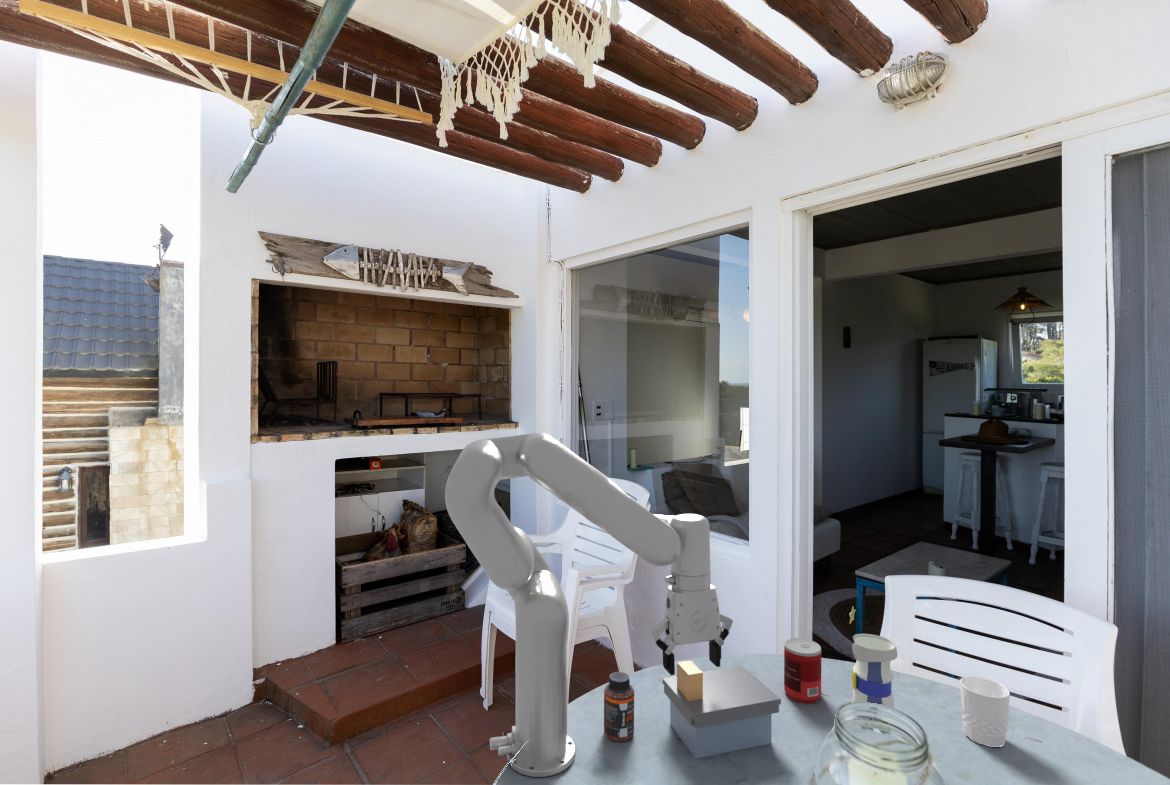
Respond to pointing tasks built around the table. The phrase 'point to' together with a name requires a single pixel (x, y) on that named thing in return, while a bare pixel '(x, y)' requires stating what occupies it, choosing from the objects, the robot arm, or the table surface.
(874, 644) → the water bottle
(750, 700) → the lid
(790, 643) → the canned food
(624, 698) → the supplement bottle
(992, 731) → the white cup
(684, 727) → the tub
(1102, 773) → the table surface
